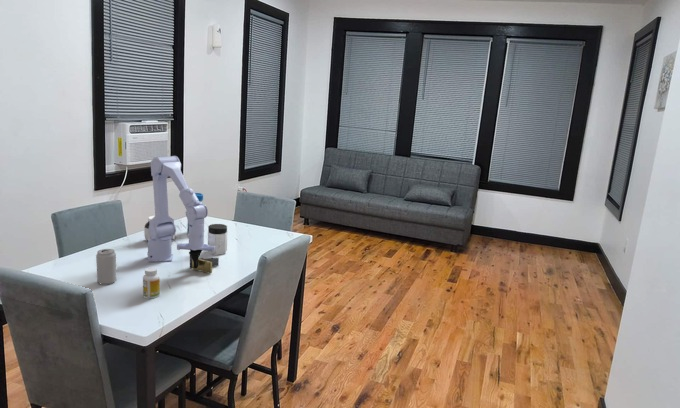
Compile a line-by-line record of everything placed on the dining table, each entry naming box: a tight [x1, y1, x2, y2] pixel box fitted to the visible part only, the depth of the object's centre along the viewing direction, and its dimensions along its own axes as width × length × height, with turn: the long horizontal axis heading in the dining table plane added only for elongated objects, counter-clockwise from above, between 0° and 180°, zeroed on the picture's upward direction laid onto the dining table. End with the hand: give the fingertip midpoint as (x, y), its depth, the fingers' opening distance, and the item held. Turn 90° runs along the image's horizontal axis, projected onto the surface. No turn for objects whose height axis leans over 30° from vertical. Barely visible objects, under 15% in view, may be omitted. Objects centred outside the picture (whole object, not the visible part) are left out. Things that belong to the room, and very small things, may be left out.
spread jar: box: [143, 215, 176, 242], centre depth 226 cm, size 12×11×12 cm
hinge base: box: [188, 252, 220, 269], centre depth 198 cm, size 12×3×7 cm, turn 107°
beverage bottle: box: [186, 192, 204, 235], centre depth 241 cm, size 8×8×20 cm
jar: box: [207, 223, 228, 256], centre depth 217 cm, size 9×8×12 cm
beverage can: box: [95, 248, 117, 285], centre depth 176 cm, size 6×6×12 cm
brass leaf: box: [191, 259, 213, 274], centre depth 194 cm, size 9×1×5 cm, turn 67°
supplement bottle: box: [142, 266, 161, 299], centre depth 168 cm, size 5×5×10 cm
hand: (195, 267), depth 192 cm, fingers closed, pressing on brass leaf
